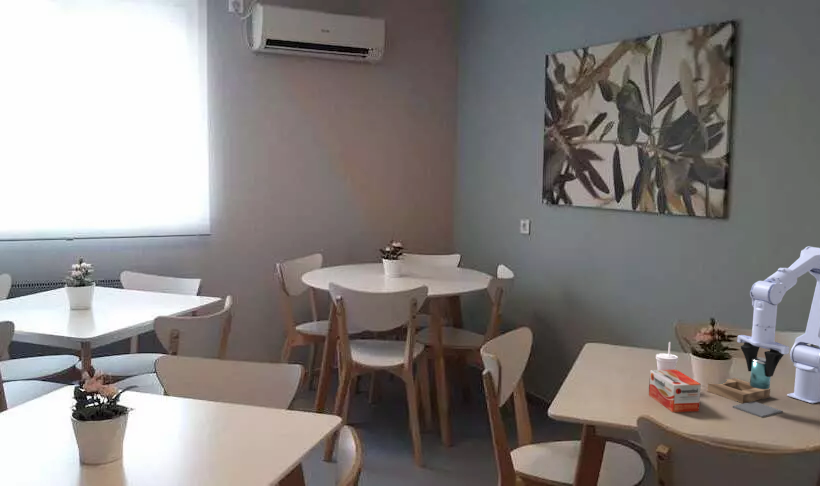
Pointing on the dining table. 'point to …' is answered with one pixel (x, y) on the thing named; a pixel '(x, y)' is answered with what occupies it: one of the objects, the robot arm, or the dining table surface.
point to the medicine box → (674, 390)
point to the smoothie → (666, 360)
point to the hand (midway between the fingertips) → (760, 373)
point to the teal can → (759, 374)
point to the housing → (738, 391)
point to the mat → (757, 409)
